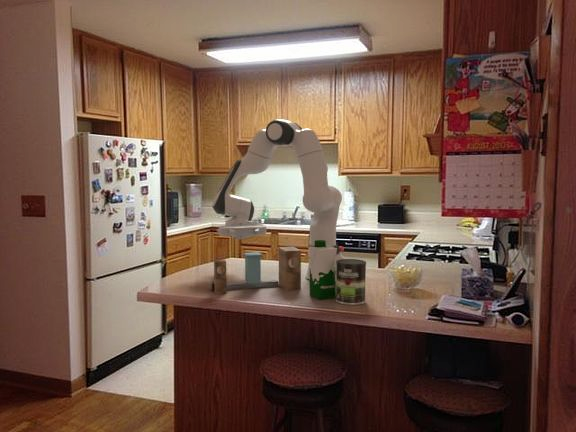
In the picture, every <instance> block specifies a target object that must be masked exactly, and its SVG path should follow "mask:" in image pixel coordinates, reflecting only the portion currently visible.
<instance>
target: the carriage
mask: <svg viewBox="0 0 576 432" xmlns="http://www.w3.org/2000/svg"><path fill="white" fill-rule="evenodd" d="M243 256H244V266H245V267H244V268H245V269H244V272H245V273H244V277H245V278H244V282H247V283H261V281H262V278H261V275H262V274H261V273H262V272H261V271H262V269H261V267H262V265H261V264H262V263H261V262H262V261H261V258H262V257H263V253H261V252H259V251H256V252H254V251H253V252H251V251H250V252H243Z"/></svg>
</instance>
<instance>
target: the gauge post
mask: <svg viewBox="0 0 576 432" xmlns="http://www.w3.org/2000/svg"><path fill="white" fill-rule="evenodd" d="M213 281H214V291H213V293H214V294H215V295H222V294H227V291H228V290H227V289H226V283H227V260H225V259H215V260H213Z"/></svg>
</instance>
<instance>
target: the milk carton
mask: <svg viewBox="0 0 576 432" xmlns="http://www.w3.org/2000/svg"><path fill="white" fill-rule="evenodd" d="M308 249H309V254H310V280H309V296H310V297H313V298H315V299H316V300H325V299H334V298H335V299H336V282H335V259H336V253H337V248H334V247H331V246H328V245H326V241H324V240H316V241H315V246H310V247H309V246H308Z"/></svg>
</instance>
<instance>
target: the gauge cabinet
mask: <svg viewBox="0 0 576 432" xmlns="http://www.w3.org/2000/svg"><path fill="white" fill-rule="evenodd" d="M278 286H280V287H281V288H282V289H284V290H285V291H292V290H301V289H302V250H301V249H298V248H297V247H295V246H282V247H281V246H280V247H278Z"/></svg>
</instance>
